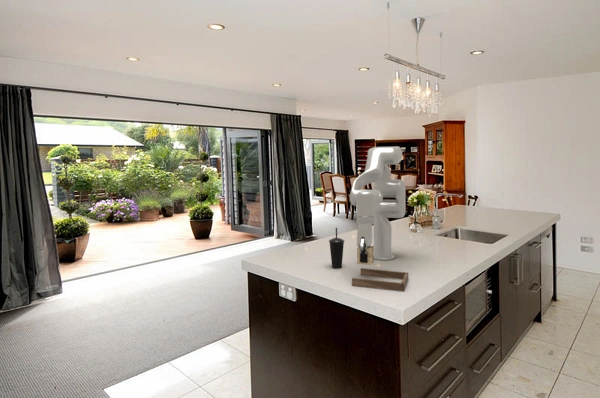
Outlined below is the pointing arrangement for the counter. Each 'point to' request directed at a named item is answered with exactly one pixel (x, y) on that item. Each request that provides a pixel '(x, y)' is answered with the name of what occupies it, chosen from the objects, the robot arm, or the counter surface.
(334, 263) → the drinking cup
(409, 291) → the counter surface
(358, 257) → the light wooden block
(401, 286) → the bay
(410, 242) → the counter surface
